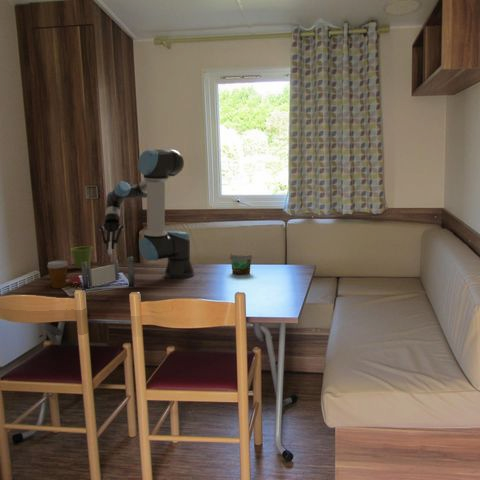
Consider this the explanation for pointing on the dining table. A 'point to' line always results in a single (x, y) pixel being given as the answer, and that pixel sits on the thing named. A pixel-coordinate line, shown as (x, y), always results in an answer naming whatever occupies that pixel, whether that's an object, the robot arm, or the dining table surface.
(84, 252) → the plant pot
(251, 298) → the dining table surface
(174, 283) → the dining table surface
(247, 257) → the food container
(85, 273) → the hinge post
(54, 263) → the disposable coffee cup
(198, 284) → the dining table surface
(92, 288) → the strip
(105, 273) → the gate
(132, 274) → the post
